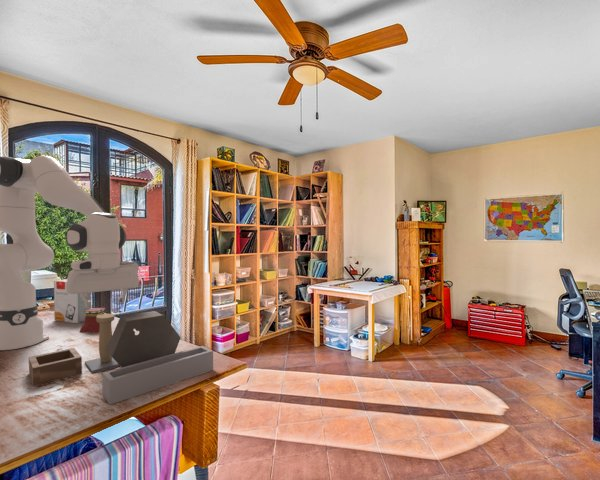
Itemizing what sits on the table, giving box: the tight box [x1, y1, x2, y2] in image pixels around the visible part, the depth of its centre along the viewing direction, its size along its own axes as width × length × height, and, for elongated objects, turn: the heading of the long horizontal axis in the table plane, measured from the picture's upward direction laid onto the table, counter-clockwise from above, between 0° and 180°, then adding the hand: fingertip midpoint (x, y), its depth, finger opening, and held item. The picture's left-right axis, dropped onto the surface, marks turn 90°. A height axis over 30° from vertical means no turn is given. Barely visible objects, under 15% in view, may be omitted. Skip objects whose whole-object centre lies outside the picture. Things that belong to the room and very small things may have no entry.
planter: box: [106, 310, 181, 368], centre depth 99 cm, size 17×8×21 cm
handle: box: [96, 313, 116, 363], centre depth 105 cm, size 5×6×15 cm
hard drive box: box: [53, 278, 92, 324], centre depth 159 cm, size 16×8×20 cm, turn 73°
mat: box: [84, 357, 121, 374], centre depth 105 cm, size 10×10×1 cm
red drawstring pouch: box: [79, 307, 106, 333], centre depth 144 cm, size 9×9×9 cm
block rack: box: [101, 345, 214, 405], centre depth 92 cm, size 7×29×6 cm, turn 135°
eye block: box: [28, 347, 83, 387], centre depth 98 cm, size 12×12×5 cm
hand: (104, 304), depth 105 cm, fingers open, 8 cm apart
